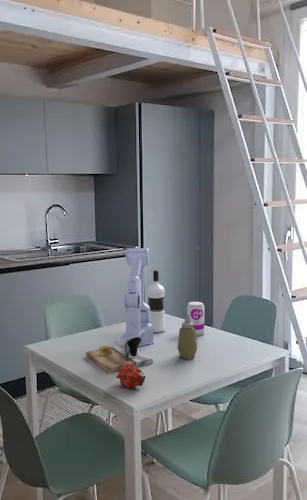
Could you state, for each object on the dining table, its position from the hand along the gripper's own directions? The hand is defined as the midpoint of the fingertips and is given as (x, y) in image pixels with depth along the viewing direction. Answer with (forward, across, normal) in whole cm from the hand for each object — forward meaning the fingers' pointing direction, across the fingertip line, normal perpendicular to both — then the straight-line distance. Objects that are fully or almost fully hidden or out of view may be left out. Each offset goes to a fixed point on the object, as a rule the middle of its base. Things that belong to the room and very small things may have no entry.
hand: (133, 355), depth 193 cm
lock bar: (0, 0, -3) cm, 3 cm away
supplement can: (+3, -47, +2) cm, 47 cm away
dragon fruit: (+3, +20, +14) cm, 24 cm away
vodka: (+3, -42, -17) cm, 45 cm away
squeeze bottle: (+3, -17, +15) cm, 23 cm away
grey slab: (+3, +1, -7) cm, 7 cm away
